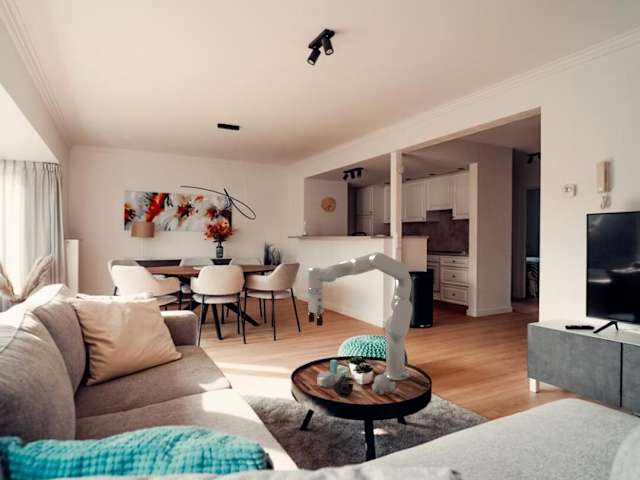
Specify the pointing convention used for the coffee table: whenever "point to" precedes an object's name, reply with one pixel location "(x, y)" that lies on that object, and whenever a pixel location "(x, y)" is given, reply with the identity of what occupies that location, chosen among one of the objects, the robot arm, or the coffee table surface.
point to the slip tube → (332, 369)
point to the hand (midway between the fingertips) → (315, 323)
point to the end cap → (343, 386)
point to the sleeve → (327, 378)
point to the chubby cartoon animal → (383, 385)
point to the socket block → (343, 371)
